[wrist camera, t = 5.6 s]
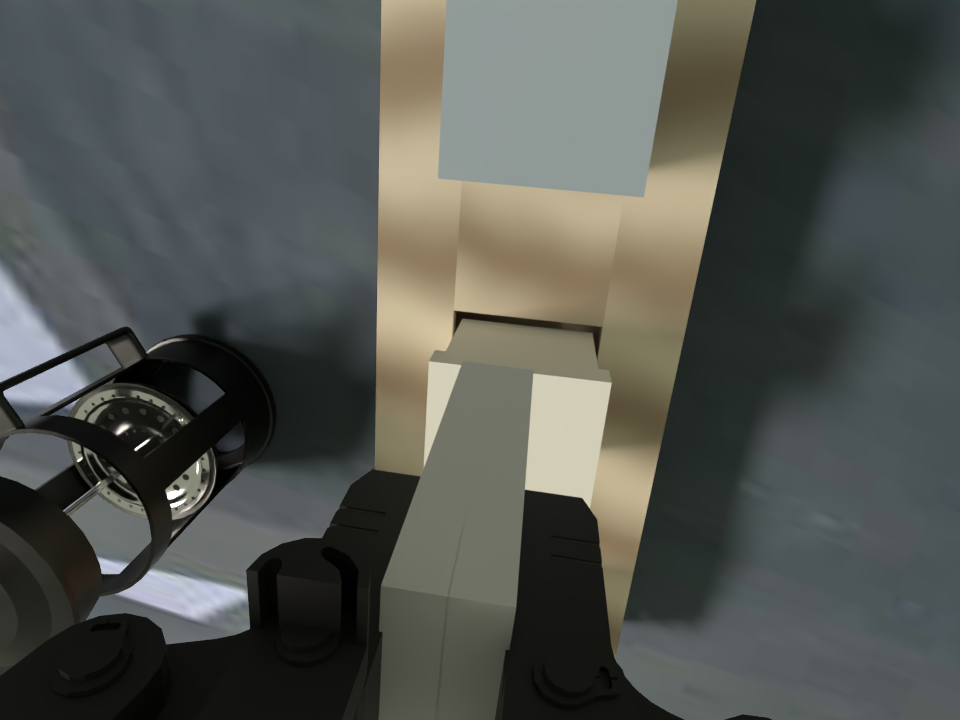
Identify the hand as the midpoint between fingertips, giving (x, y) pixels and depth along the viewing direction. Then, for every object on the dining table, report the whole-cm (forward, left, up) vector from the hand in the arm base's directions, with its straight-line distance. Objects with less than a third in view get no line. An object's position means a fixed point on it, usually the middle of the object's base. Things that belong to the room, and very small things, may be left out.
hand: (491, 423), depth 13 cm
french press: (+12, -20, -21) cm, 31 cm away
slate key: (-7, 0, -15) cm, 17 cm away
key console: (+6, 0, -21) cm, 21 cm away
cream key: (+6, 0, -15) cm, 16 cm away
